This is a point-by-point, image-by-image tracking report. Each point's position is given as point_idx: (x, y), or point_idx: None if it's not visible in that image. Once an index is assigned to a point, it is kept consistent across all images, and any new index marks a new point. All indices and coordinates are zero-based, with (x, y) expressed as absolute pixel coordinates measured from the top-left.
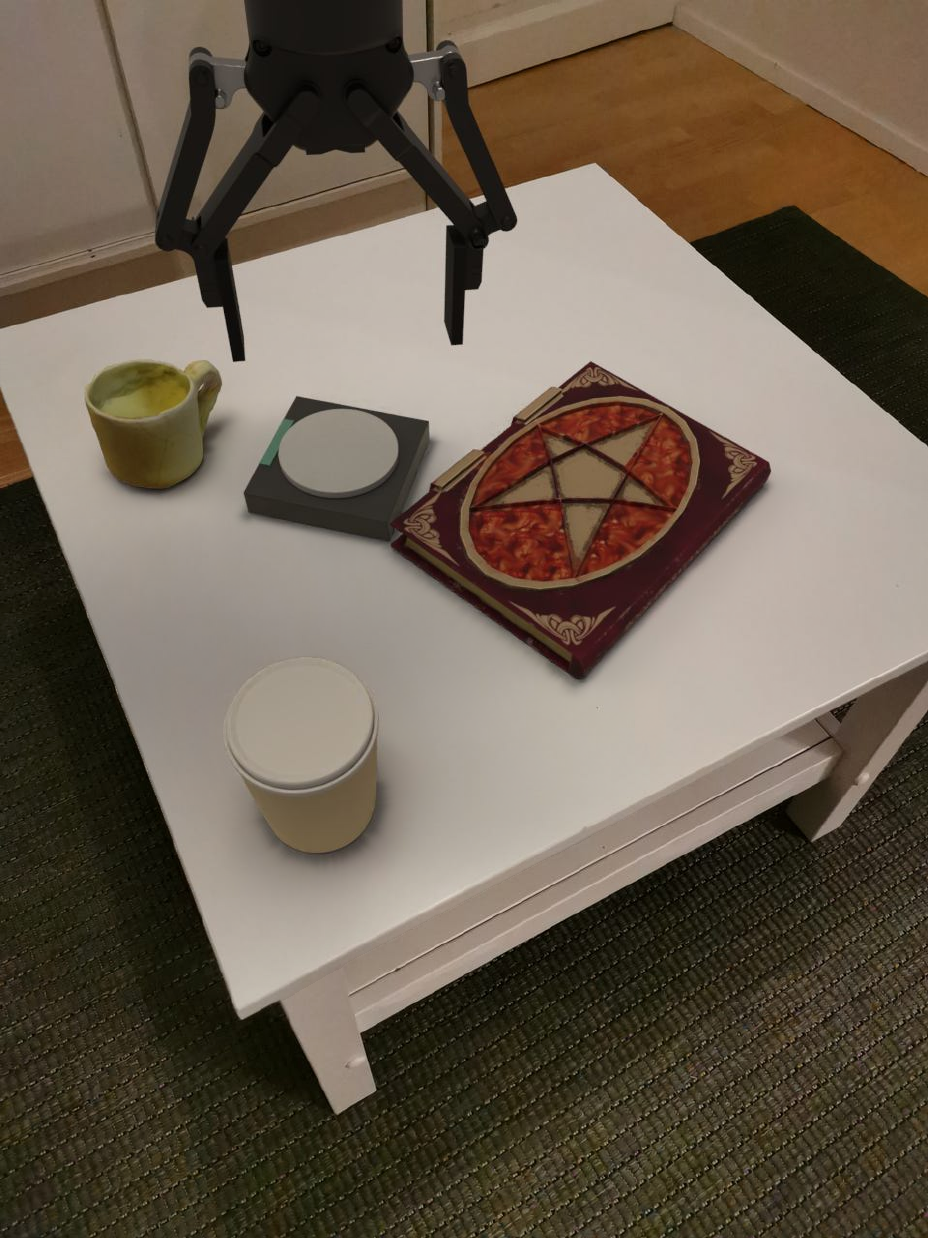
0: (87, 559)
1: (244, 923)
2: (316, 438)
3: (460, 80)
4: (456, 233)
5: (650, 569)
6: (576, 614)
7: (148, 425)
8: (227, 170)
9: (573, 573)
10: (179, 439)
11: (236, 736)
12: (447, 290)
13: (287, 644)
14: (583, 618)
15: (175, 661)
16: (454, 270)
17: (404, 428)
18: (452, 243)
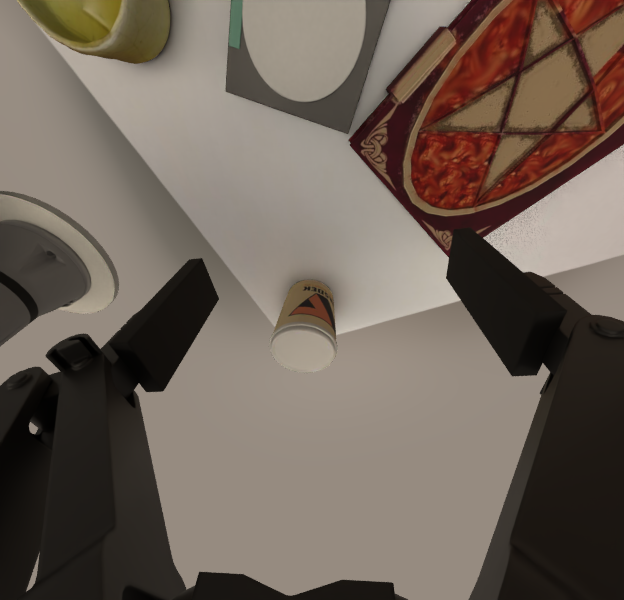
0: (138, 144)
1: None
2: (278, 4)
3: None
4: (542, 339)
5: (535, 195)
6: None
7: (110, 50)
8: (52, 466)
9: (475, 204)
10: (144, 34)
11: (276, 356)
12: (474, 274)
13: (284, 219)
14: None
15: (226, 227)
16: (493, 346)
17: None
18: (516, 363)
